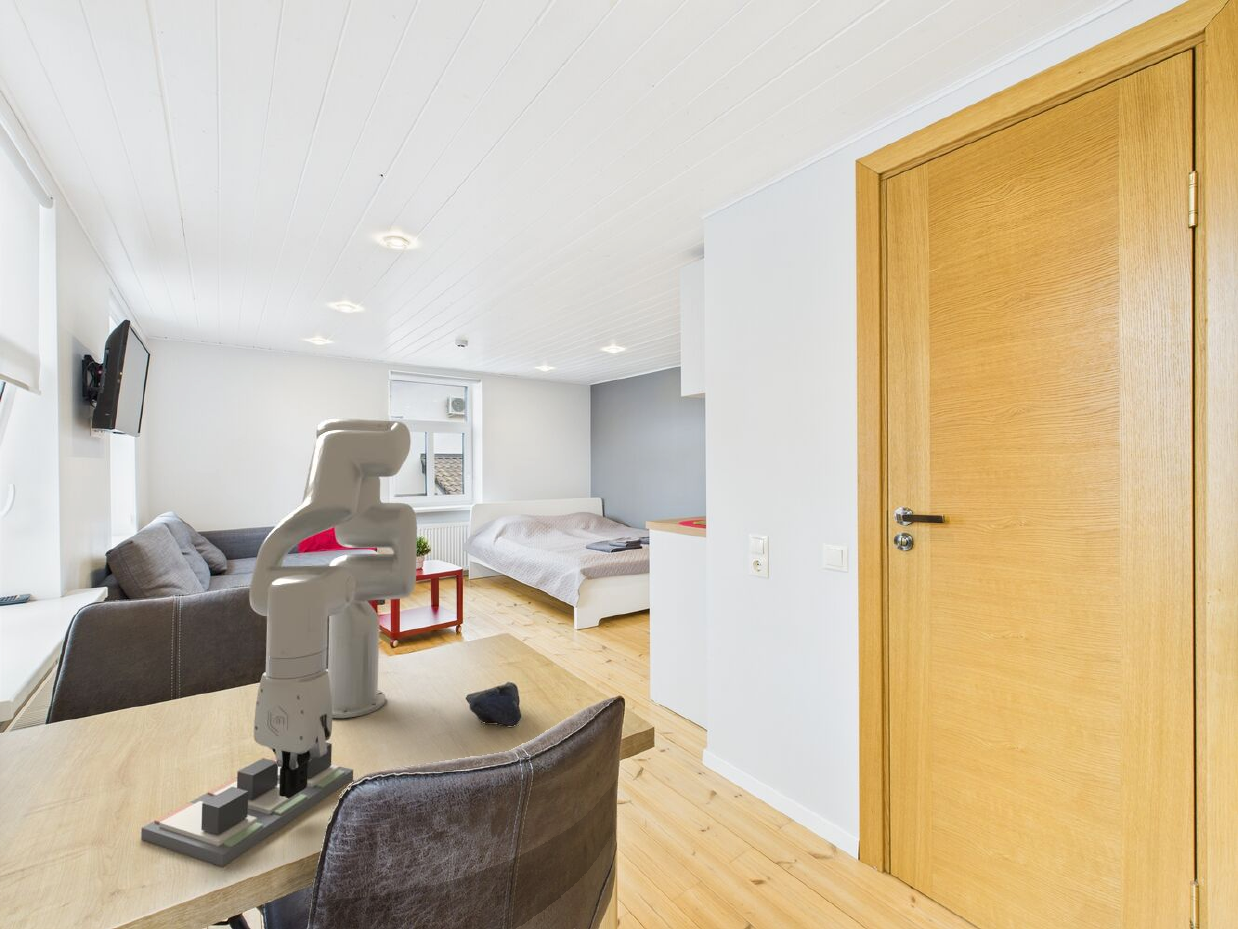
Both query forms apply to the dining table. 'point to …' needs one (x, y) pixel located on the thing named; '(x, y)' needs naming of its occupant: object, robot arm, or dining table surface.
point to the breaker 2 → (320, 763)
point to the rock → (497, 705)
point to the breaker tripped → (258, 777)
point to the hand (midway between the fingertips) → (293, 791)
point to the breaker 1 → (224, 810)
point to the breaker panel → (263, 820)
